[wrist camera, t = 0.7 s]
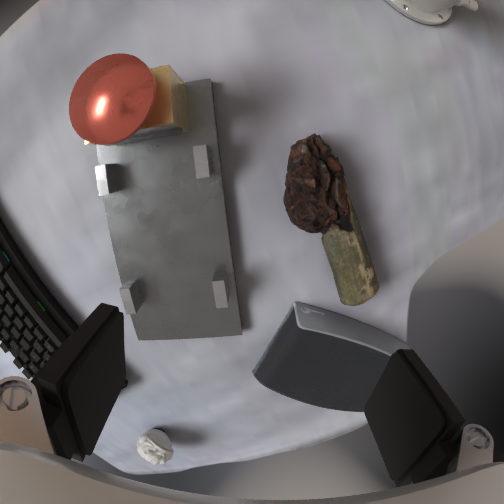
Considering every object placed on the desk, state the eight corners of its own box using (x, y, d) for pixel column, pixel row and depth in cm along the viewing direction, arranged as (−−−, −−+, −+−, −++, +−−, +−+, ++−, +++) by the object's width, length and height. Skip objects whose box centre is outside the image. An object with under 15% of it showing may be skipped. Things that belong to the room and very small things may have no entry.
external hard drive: (296, 293, 34) (302, 310, 30) (411, 340, 37) (423, 356, 33) (249, 373, 38) (249, 393, 34) (360, 403, 40) (368, 421, 36)
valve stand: (211, 74, 26) (192, 33, 16) (242, 329, 35) (240, 392, 24) (98, 101, 27) (40, 83, 16) (141, 335, 35) (110, 391, 25)
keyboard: (133, 373, 38) (122, 396, 33) (80, 404, 40) (69, 423, 36) (-26, 154, 27) (-48, 157, 23) (-55, 221, 30) (-73, 228, 25)
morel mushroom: (371, 276, 34) (390, 297, 28) (320, 299, 34) (332, 324, 29) (320, 131, 29) (335, 126, 23) (261, 155, 29) (263, 154, 24)
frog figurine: (185, 433, 41) (179, 466, 34) (163, 446, 42) (155, 476, 36) (155, 414, 40) (145, 447, 33) (134, 429, 41) (124, 459, 34)
